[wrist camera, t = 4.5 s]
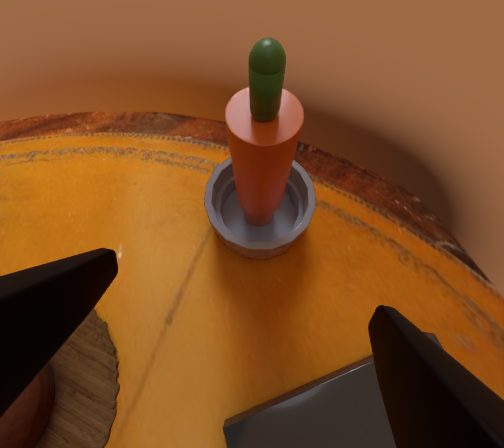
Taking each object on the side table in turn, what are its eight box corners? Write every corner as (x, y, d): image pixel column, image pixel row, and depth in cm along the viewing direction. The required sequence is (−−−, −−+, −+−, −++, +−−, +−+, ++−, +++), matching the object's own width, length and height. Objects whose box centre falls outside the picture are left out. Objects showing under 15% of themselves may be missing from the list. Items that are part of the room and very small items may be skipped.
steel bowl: (230, 273, 21) (224, 266, 17) (203, 191, 24) (192, 167, 20) (319, 240, 22) (334, 225, 18) (282, 165, 25) (288, 137, 21)
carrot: (247, 236, 22) (233, 94, 7) (234, 202, 23) (200, 21, 8) (283, 223, 22) (343, 63, 7) (269, 191, 23) (296, -2, 9)
